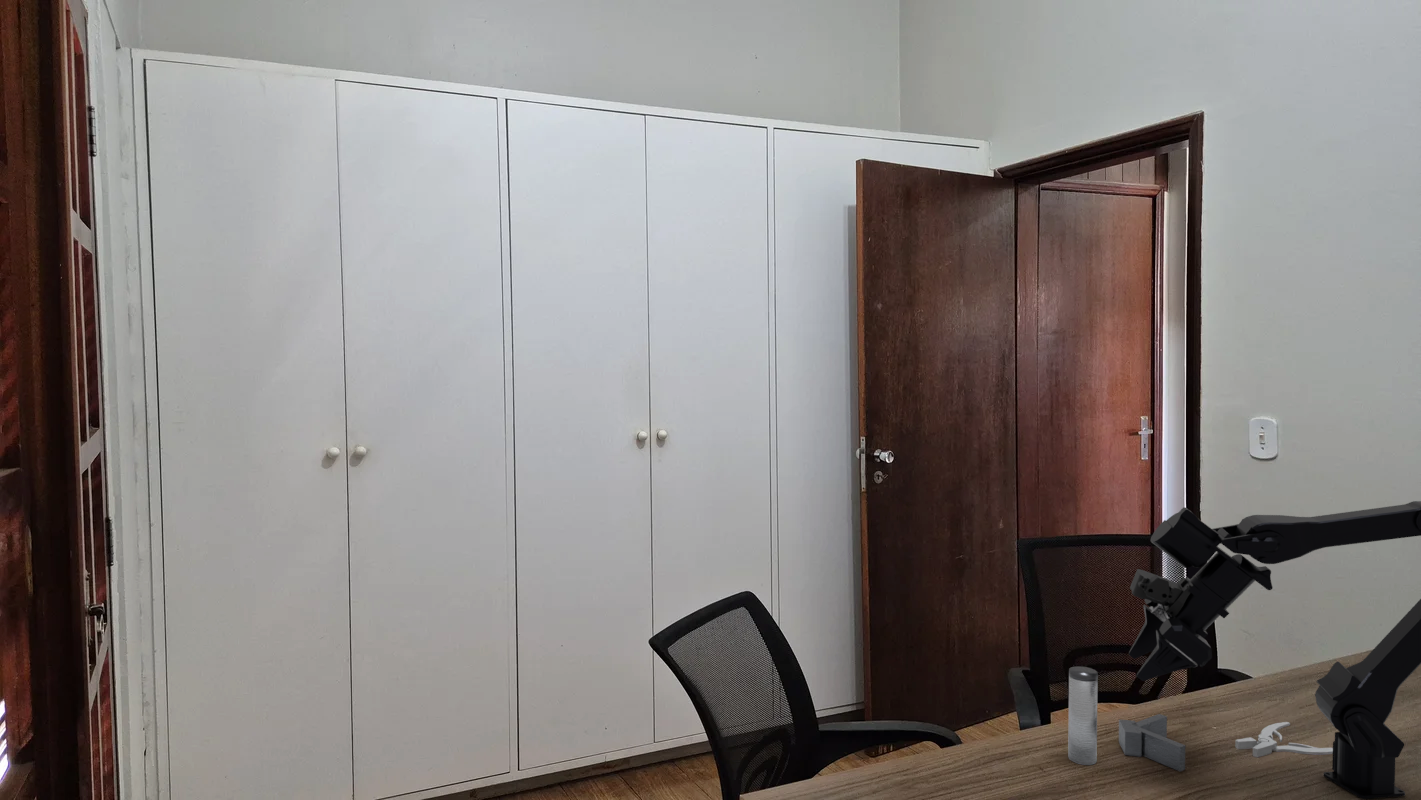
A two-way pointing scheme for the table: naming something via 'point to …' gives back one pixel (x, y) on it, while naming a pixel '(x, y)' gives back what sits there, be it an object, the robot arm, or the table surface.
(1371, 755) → the robot arm
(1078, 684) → the axle
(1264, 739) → the pliers
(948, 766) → the table surface
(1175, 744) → the v block
